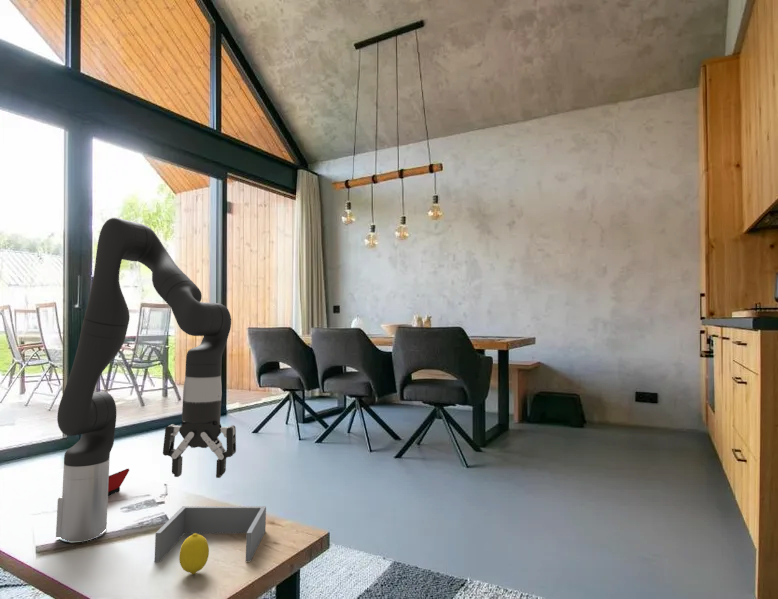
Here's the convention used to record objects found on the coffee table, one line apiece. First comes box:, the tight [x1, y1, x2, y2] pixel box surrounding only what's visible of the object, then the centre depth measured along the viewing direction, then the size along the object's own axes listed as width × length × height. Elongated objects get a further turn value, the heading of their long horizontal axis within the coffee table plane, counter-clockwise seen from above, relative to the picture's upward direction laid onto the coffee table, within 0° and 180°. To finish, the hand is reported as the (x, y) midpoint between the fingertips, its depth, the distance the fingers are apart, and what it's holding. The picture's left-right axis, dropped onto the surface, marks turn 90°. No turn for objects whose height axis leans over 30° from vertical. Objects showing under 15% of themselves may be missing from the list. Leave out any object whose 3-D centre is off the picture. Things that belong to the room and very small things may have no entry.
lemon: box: [178, 533, 210, 575], centre depth 98 cm, size 6×6×8 cm
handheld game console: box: [108, 468, 130, 497], centre depth 138 cm, size 12×11×7 cm
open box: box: [153, 505, 267, 563], centre depth 110 cm, size 20×15×6 cm
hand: (198, 476), depth 100 cm, fingers open, 8 cm apart
